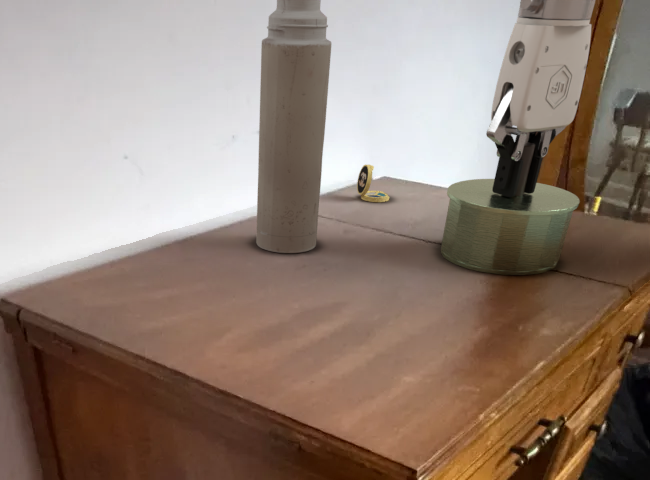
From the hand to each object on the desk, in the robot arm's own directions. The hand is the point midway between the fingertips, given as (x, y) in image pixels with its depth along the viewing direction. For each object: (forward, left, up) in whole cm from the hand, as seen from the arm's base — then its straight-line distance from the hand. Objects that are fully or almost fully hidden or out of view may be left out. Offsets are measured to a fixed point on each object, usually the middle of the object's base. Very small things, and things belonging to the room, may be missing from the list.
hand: (513, 191), depth 88 cm
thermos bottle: (+21, -18, -8) cm, 29 cm away
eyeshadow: (-5, -30, -8) cm, 31 cm away
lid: (0, 0, -1) cm, 1 cm away
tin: (0, 0, -8) cm, 8 cm away
